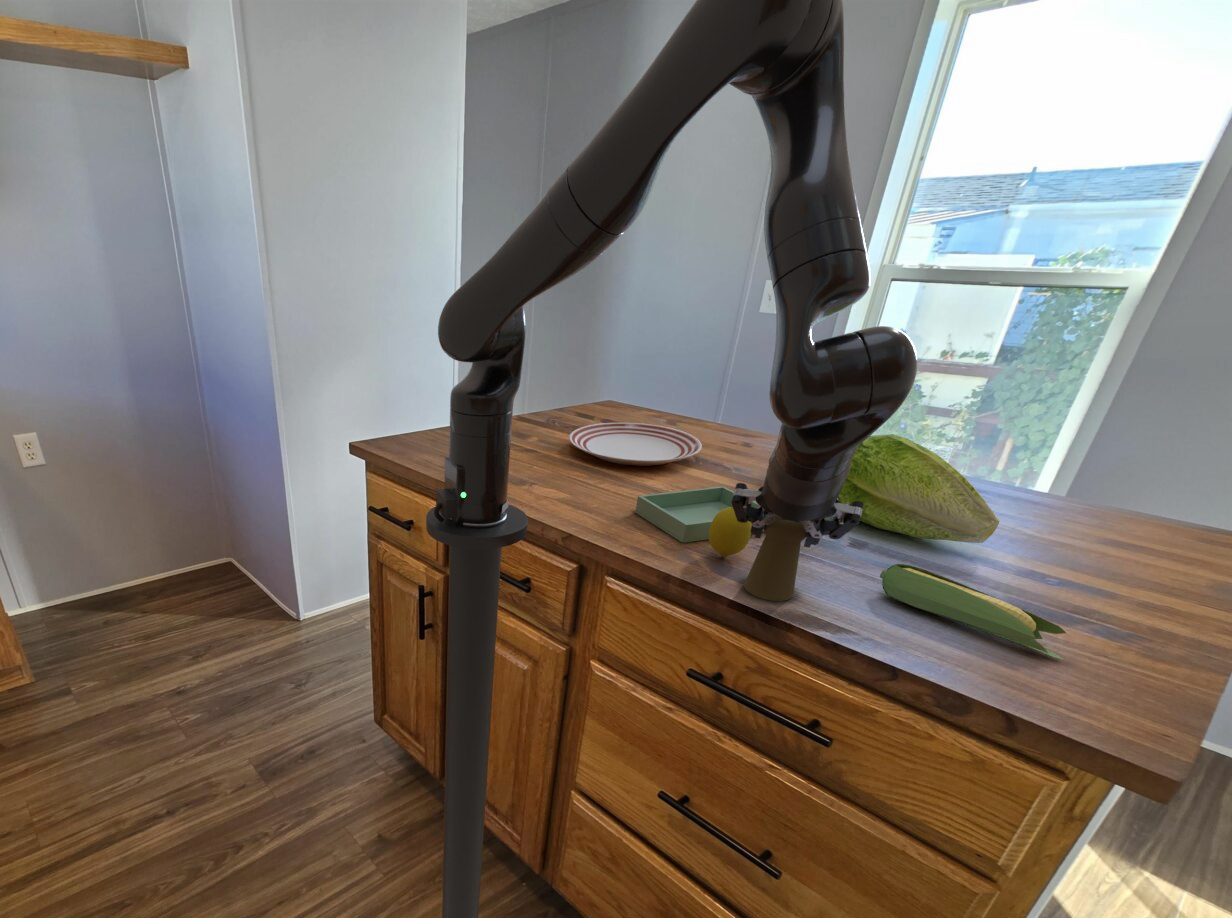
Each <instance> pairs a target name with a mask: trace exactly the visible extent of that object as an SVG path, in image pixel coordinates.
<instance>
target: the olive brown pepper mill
mask: <svg viewBox="0 0 1232 918" xmlns="http://www.w3.org/2000/svg"><path fill="white" fill-rule="evenodd" d="M764 531H765V532H764V534H765V536H764V539H763V541H762V543H761V545H760V548H759V550H758V552H757V554H756V557H755V559H754V561H753V563H752V566H751V567H750V570H749V573H748V575H747V577H746V578H745V579H746V580H745V582H744V584H743V588H744V589H745V591H746V592H748V593H749V594H750V595H752V596H753V597H756V598H759V599H762V600H766V601H771V602H784V601H786V602H787V601H789V600H791V599H792V598H793V597H794V594H795V587H796V580H797V573H798V566H799V559H800V552H801V547H802V541H805V540H806V536H807V535H808V533H809V532H806V531H805V529H804V527H803V525H802V523H799V522H794V521H790V520H777V521H775V522H774V523H772V524H771V525H767V524H766V525H764Z"/></svg>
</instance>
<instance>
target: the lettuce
mask: <svg viewBox="0 0 1232 918" xmlns="http://www.w3.org/2000/svg"><path fill="white" fill-rule="evenodd" d="M837 498H838V500H839V503H842V504H848V505H849V504H850V503H852V502H853V501H861V502H863V503H864V506H863V511H862V515H861V518H860V522H862V523H864V524H867V525H869V526H871V527H873V528H875V529H878V530H882V531H887V532H891V533H897V534H901V535H906V536H908V537H913V538H916V539H919V540H934V541H935V540H936V541H937V540H939V541H952V542H958V543H959V542H960V543H968V544H969V543H970V544H971V543H975V544H982V543H985V542H986V541H987V540H988V539H989V538H990V537H992V535H993V534H994V533H995V531H996V530H997V528H998V527H999V524H1000V519H999V518H998V516H997V515H996V513H995V512H994V511H993V510H992V508H991V507H990V506H989V505H988V503H987V502H986V500H985V499H984V498H983V497H982V495H981V494H980V492H979V491H978V490H977V489H976V488H975V486H974V485H973V483H972V482H970V480H968V478H966V477H965V476H964V475H963V474H962V473H961V472H959V470H958V469H956V468H955V467H953V465H951V464H950V463H949V462H948V461H946V460H945V459H943V457H942V456H940V455H939V454H937V453H935V452H934V451H933V450H931V449H929V448H926V447H924V445H920V444H919V443H917V442H914V441H913V440H911V439H910V438H907V437H903V436H900V435H897V434H893V433H890V434H879V435H877V434H876V435H871V436H869V437H868V438H867V439H866V440H865V441H863V442H862V443H860V444H859V446H858V448H857V450H856V452H855V454H854V457H853V459H852V464H851V468H850V471H849V474H848V476H847V478H846V480H845V483H844V485H843V487H842V489H841V491H840V493H839V495H838V497H837Z"/></svg>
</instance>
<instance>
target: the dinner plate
mask: <svg viewBox="0 0 1232 918" xmlns="http://www.w3.org/2000/svg"><path fill="white" fill-rule="evenodd" d="M568 440H569V442H570V444H571V445H573V446H574V447H576V448H577V449H579V450H581V451H583V452H585V453H587V454H589V455H591V456H594V457H596V458H597V459H600V460H602V461H605V462H609V463H613V464H618V465H623V466H624V465H625V466H635V467H650V466H661V465H664V464H669V463H674V462H679V461H682V460H685V459H688V458H691V457H692V456H695V455H697V454H698V453H700V451H701V450H702V448H703V445H702V442H701V441H700V440H699V439H698V438H697V437H696V436H693V434H690V433H688V432H685V431H683V430H680V429H678V428H677V429H676V428H673V427H669V426H663V425H659V424H658V425H657V424H650V423H642V422H601V423H595V424H594V423H593V424H588V425H585V426H581V427H578V428H576V429H575V430H573V431H572V432H571V433H570V434H569V435H568Z"/></svg>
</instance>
